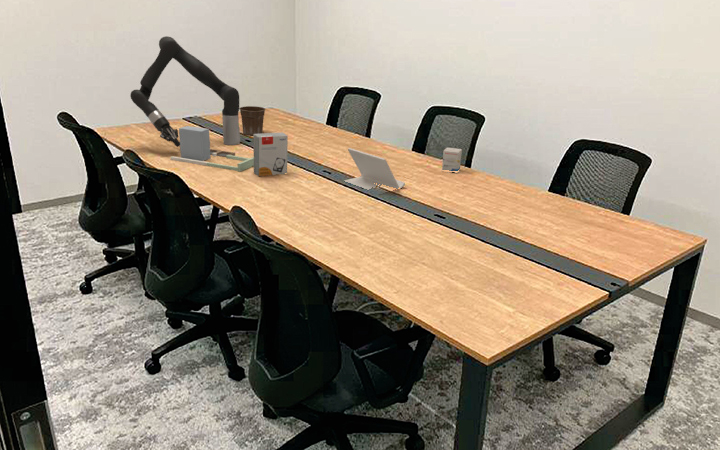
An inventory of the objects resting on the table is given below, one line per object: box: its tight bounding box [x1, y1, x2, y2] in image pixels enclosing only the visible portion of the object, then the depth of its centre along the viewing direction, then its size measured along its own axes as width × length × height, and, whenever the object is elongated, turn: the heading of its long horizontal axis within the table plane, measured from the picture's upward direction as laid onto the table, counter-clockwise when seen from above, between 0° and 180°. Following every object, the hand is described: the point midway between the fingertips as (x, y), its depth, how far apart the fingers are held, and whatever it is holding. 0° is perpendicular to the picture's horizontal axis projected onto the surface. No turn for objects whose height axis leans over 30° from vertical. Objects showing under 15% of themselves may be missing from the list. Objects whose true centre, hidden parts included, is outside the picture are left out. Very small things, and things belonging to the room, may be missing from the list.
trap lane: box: [169, 148, 254, 173], centre depth 311 cm, size 26×44×4 cm, turn 68°
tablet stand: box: [343, 147, 406, 191], centre depth 280 cm, size 18×25×17 cm
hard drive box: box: [252, 132, 289, 177], centre depth 290 cm, size 16×8×20 cm, turn 117°
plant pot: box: [239, 105, 266, 136], centre depth 370 cm, size 16×16×16 cm
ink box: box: [441, 147, 463, 171], centre depth 309 cm, size 9×8×12 cm
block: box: [178, 125, 212, 162], centre depth 311 cm, size 7×14×16 cm, turn 68°
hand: (179, 145), depth 315 cm, fingers closed
